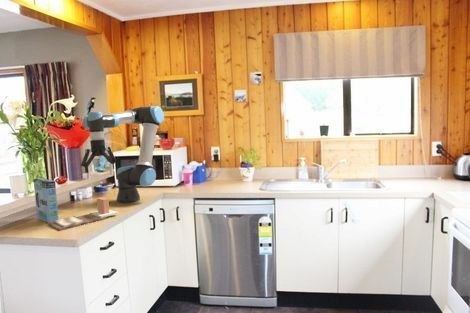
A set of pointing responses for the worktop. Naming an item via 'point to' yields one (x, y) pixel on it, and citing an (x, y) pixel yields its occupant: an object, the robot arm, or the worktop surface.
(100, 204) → the pink block on base
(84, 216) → the board
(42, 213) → the blue cereal box
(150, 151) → the robot arm
